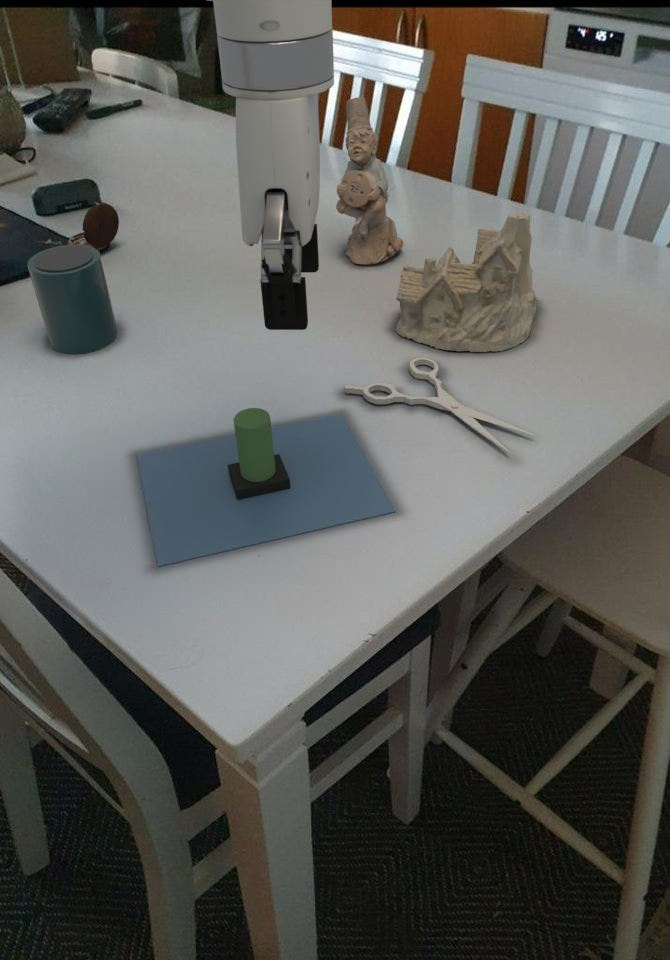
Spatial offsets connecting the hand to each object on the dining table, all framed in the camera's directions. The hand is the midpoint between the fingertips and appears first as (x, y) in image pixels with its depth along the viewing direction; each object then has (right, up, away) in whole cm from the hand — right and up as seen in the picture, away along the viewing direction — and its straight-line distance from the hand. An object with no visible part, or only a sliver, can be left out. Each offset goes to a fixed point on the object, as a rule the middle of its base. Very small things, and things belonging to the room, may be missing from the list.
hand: (293, 297), depth 64 cm
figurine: (+8, +17, +49) cm, 52 cm away
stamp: (-4, -15, +11) cm, 19 cm away
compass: (-33, +19, +53) cm, 65 cm away
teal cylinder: (-27, +3, +33) cm, 43 cm away
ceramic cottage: (+20, +5, +34) cm, 39 cm away
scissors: (+15, -7, +19) cm, 25 cm away
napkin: (-4, -15, +11) cm, 19 cm away
